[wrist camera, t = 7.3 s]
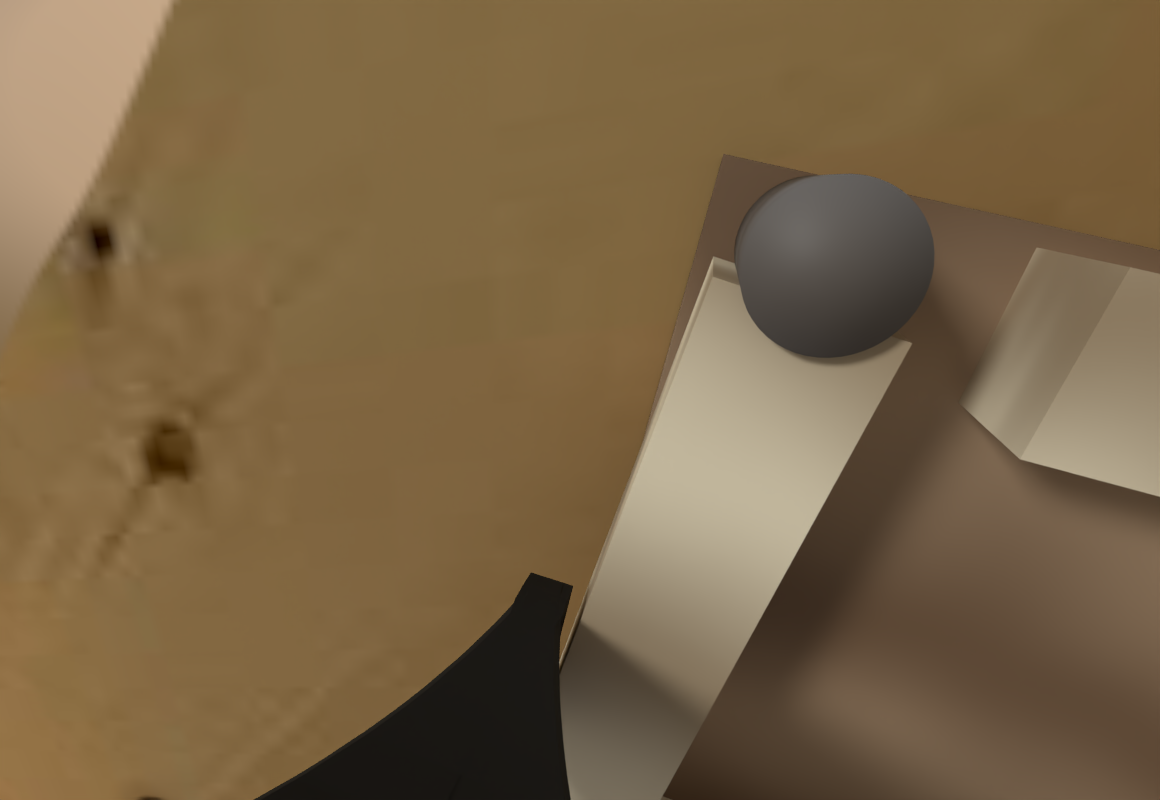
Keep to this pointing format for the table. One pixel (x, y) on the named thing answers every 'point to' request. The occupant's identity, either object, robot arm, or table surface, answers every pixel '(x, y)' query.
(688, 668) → the hinged leg
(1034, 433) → the stool seat
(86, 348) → the table surface
